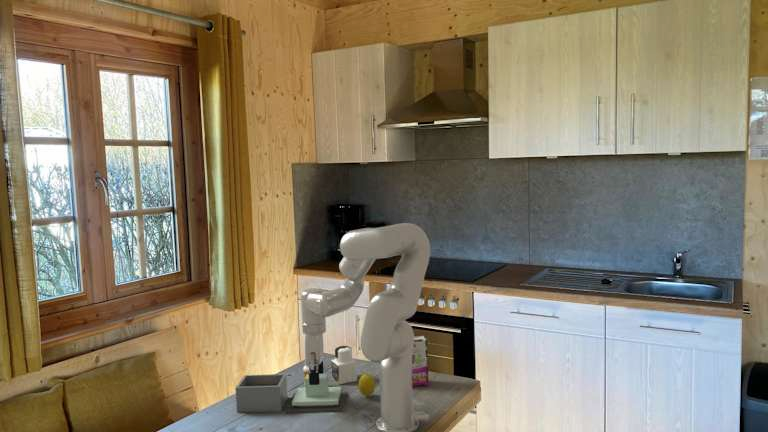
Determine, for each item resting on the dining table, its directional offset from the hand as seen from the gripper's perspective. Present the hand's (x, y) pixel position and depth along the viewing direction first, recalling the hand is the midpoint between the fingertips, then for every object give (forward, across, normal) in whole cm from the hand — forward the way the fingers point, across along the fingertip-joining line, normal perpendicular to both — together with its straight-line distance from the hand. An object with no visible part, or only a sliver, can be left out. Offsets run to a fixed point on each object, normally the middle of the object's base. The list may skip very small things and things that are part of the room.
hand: (316, 378), depth 187 cm
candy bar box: (+8, -14, +31) cm, 35 cm away
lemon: (+8, -4, +16) cm, 18 cm away
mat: (+8, 0, 0) cm, 8 cm away
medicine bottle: (+8, -20, +7) cm, 23 cm away
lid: (+6, 0, 0) cm, 6 cm away
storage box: (+8, 0, -18) cm, 20 cm away
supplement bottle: (+8, -14, -4) cm, 17 cm away
